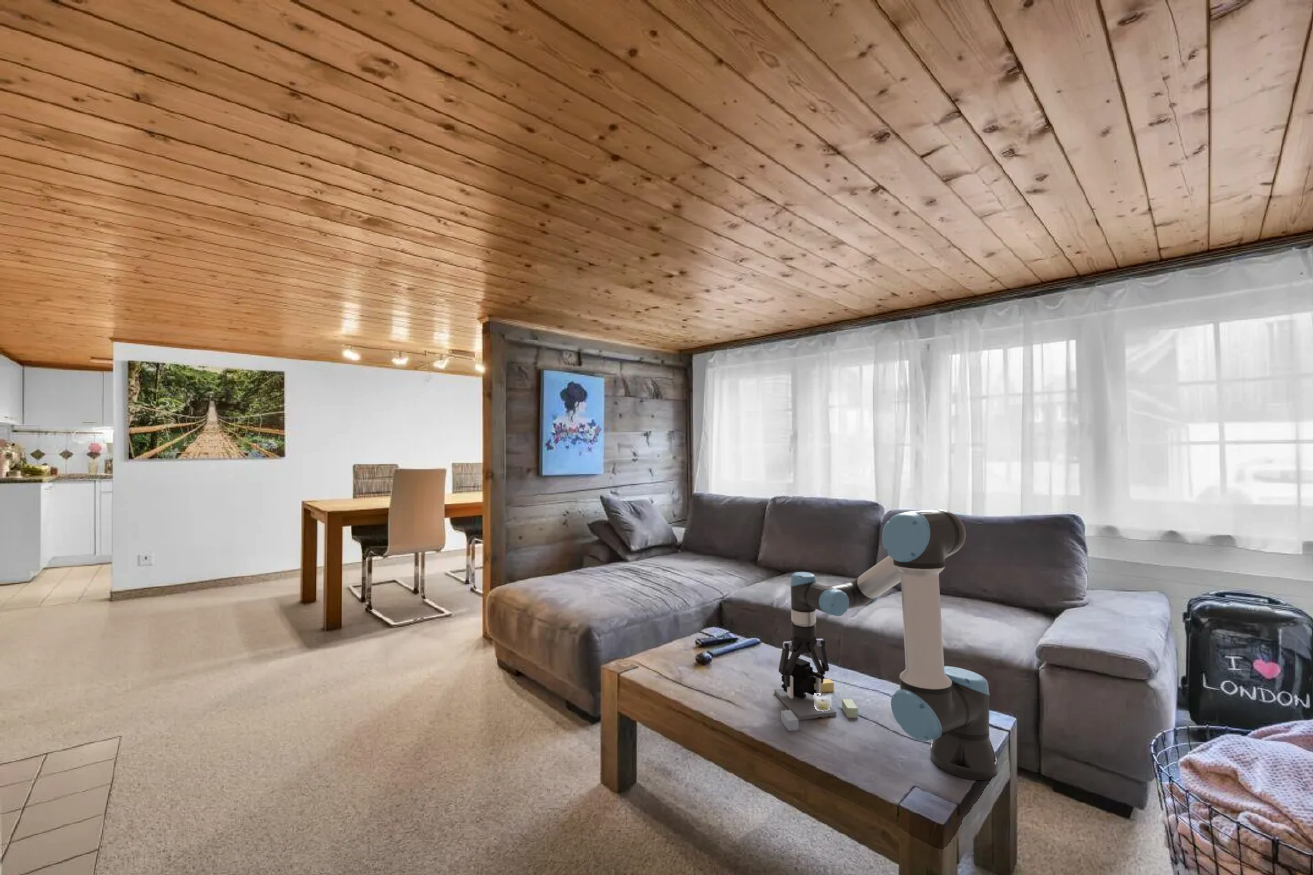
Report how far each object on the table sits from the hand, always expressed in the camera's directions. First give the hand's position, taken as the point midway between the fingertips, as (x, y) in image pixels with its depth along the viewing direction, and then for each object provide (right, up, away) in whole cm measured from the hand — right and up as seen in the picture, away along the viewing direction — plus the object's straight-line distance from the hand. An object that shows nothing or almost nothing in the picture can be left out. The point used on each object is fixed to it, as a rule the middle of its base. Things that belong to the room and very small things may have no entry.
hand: (804, 694), depth 173 cm
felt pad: (0, -3, 0) cm, 3 cm away
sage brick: (+12, -3, -6) cm, 14 cm away
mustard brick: (+9, -3, +10) cm, 14 cm away
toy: (0, 0, 0) cm, 1 cm away
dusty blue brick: (-8, -3, -13) cm, 15 cm away
